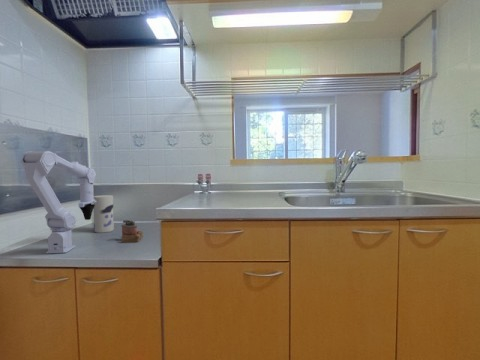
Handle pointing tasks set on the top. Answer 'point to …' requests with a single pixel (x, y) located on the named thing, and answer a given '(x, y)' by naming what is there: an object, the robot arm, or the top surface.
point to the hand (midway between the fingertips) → (87, 219)
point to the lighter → (129, 228)
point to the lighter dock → (133, 237)
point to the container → (103, 214)
